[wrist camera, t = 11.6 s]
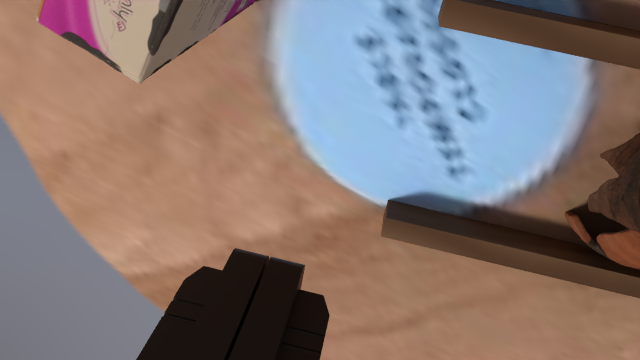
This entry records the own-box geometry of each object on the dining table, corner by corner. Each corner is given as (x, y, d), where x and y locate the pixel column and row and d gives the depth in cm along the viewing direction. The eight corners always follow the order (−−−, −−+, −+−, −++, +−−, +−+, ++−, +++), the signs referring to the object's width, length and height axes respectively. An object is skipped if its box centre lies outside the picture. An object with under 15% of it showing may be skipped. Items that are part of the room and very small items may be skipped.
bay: (445, -10, 34) (447, 3, 30) (887, 83, 32) (943, 108, 29) (383, 217, 42) (379, 248, 39) (733, 300, 41) (762, 340, 37)
